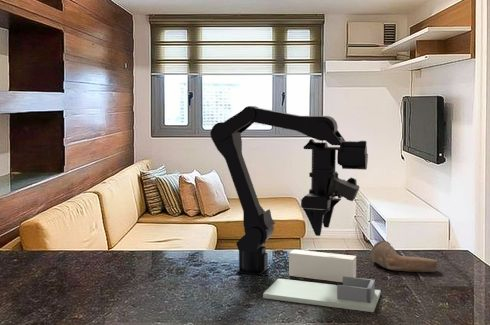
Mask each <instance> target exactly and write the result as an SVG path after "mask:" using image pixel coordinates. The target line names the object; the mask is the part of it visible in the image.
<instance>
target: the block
mask: <svg viewBox="0 0 490 325" xmlns="http://www.w3.org/2000/svg"><path fill="white" fill-rule="evenodd" d="M288 262H289V263H288V266H289V267H288V276H289V277H298V278H307V279H311V280H312V279H314V280H321V281H328V282H329V281H330V282H337V283H343V276H345V277H354V278H357V255H352V254H351V255H349V254H342V253H341V254H340V253H331V252H321V251H312V250H302V249H292V250H291V251H289V253H288Z"/></svg>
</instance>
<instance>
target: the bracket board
mask: <svg viewBox="0 0 490 325" xmlns="http://www.w3.org/2000/svg"><path fill="white" fill-rule="evenodd" d="M375 282H376V280H375V279H370V278H362V277H361V278H360V277H356V278H354V277H345V276H343V282H342V284H337V285H336V284H330V283H321V282H311V281H302V280H294V279H288V278H287V279H285V278H277V279H276V280H275V281H274V282H273V283H272V284H270V286H269V287H268V288H267V289H266V290H265V291H264V292H263V293H262V297H263V299H268V300H276V301H282V302H283V301H284V302H289V303H291V302H292V303H299V304H306V305H316V306H323V307H328V308H329V307H330V308H338V309H345V310H352V311H353V310H354V311H361V312H368V313H369V312H370V313H374V312H375V310H376V308H377V304H378V302H379V300H380V296H381V289H376V288H375V286H376V284H375Z"/></svg>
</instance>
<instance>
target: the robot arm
mask: <svg viewBox="0 0 490 325" xmlns="http://www.w3.org/2000/svg"><path fill="white" fill-rule="evenodd" d="M254 123H256V124H261V125H265V126H271V127H277V128H282V129H286V130H291V131H295V132H297V133H300V134H302V135H305V136H307V137H310V138H309V141H308V142H307V143H306V144H305V145H304V146H303V149H304V150H311V171H310V172H308V174H309V176H308V177H309V178H310V179H311V183H310V184H311V185H310V187H311V188H309V189H308V191H309V192H308V193H307V194H305V195H304V196H303V197H302V198H301V199H300V208H301V209H302V211H304V213H305V215H306V217H307V218H308V222H309V223H310V226H311V228H312V231H313V232H314V236H317V237H320V236H321V234H322V231H323V230H322V228H323V227H324V228H326V229H327V228H329V226H330V224H331V219H332V217H333V212H334V210H335V206H336V205H337V204H338V203H339V202H340V201H341V200H342V198H344V199H346V200H347V201H350V202H353V201H354V200H355V199H356V197H357V195H358V193H359V192H358V191H360V185H358V184H357V179H356V178H354V177H352V176H351V177H349V178H348V179H347V180H346V179H342V178H340V177H339V173H338V171H336V161H337V165H339V166H341V168H342V169H343V170H367V168H368V159H369V157H368V156H369V154H368V146H367V141H366V140H357V141H355V140H354V141H351V140H348V141H347V140H345V138H344V137H343V135H342V134H341V133H340V132H339V130H338V127H339V126H338V123H337V121H336V120H335V118H334V117H332V116H330V115H298V114H294V113H293V114H292V113H290V112H289V113H288V112H284V111H283V112H282V111H276V110H272V109H268V108H267V109H266V108H262V107H259V106H255V105H248V106H245V107H244V108H243V109H242V110H240V111H238V112H237V113H236V114H234V115H233V116H231V117H229V118H227V119H226V120H225V121H222V122H221V121H220V122H217V123H215V124H214V125H213V126H212V128H211V130H210V138H211V140H212V142H213V145H214V146H215V148H216V150H217V151H218V153H220V155H221V156H222V157H223V158H224V160H225V162H226V166H227V168H228V172H229V174H230V176H231V179H232V182H233V185H234V188H235V191H236V195H237V198H238V201H239V203H240V205H241V208H242V212H243V220H242V222H243V230H244V234H243V236H242V237H241V238H239V239H238V240H237V241H236V244H235V245H236V247H237V249H238V268H237V270H236V273H238V274H244V275H245V274H247V275H248V274H249V275H255V276H260V275H262V274H263V273H264V272H266V271H267V270H268V269H269V264H268V252H266V251H267V250H266V247H267V246H265V244H266V243H267V241H268V239H270V238H271V237H272V235H273V234H274V231H275V228H274V226H275V224H276V222H275V220H274V219H273V217H272V213H271V210H270V208H269V209H267V210H265V209H264V208H263V207H262V206H261V204H260V202H259V198H258V196H257V194H256V190H255V187H254V185H253V181H252V178H251V175H250V173H249V170H248V167H247V164H246V160H245V159H244V156H243V151H242V150H243V140H242V136H241V135H242V133H243V132H245V131H246V130H247V129H248V128H250V127H251V126H252V125H253V124H254ZM315 140H317V141H315ZM320 141H325V142H320ZM328 144H329V145H330V146H328ZM336 152H337V153H336ZM336 154H337V155H336ZM336 158H337V160H336ZM336 197H337V198H336Z"/></svg>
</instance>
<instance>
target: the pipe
mask: <svg viewBox="0 0 490 325" xmlns="http://www.w3.org/2000/svg"><path fill="white" fill-rule="evenodd" d="M370 256H371V259H372V261H373V262H374V263H376V264H377V265H379V266H381V267H382V268H384V269H387V270H390V271H394V272H395V271H397V272H398V271H399V272H400V271H401V272H409V273H410V272H411V273H413V272H414V273H415V272H416V273H424V272H435V273H436V270H437V268H438V264H439V261H438V259H432V258H426V257H425V258H424V257H417V256H406V255H399V254H398V253H397V250H396V249H395V248H394V247H393V245H391V243H390V242H389V241H387V240H379V241H378V242H376V243H375V244H374V245H373V247H372V250H370Z"/></svg>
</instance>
